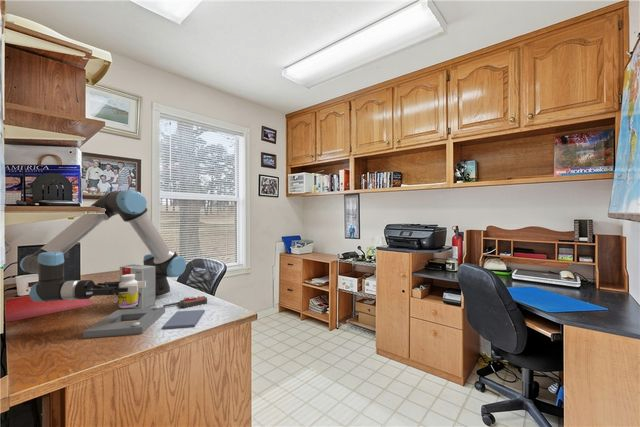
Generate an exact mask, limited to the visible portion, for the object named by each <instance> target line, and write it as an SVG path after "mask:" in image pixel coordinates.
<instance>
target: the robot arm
mask: <svg viewBox="0 0 640 427" xmlns="http://www.w3.org/2000/svg"><path fill="white" fill-rule="evenodd" d="M147 204H148V203H147V198H146V197H145V196H144V194H143V193H141V192H139V191H137V190H132V189H123V190H113V191H110V192H108V193H106V194H104V195H103V196H101V197H100V198H98V199H97V200H96V201H95V202H93V203H92V204H91V205H89V207H101V208H105V209H106V211H105V214H88V213H87V214H85V213H83V214H84V215H83V214H82V215H81V216H80V217H78V218H77V219H75V221H73V222H72V223H71V224H69V225H68V226H67V227H66V228H65V229H63V230H62V231H61V232H60V233H58V234H57V235H56V236H55V237H53V238H52V239H51V240H50V241H48V242H47V243H46V244H45V245H43V246H42V247H40V248H39V249H38V250H37V251H35V252H34V253H33V254H29V255H26V256H25V257H23V258H22V259H21V260H20V262H19V266H20V269H21V270H22V271H23V272H25V273H29V274H34V275H38V276H37V277H38V280H37V282H35V283H34V284H33V285H32V286H31V287H30V290H29V293H28V294H29V298H30V300H31V301H33V302H45V303H46V302H47V303H48V302H56V301H59V302H60V301H68V300H69V301H70V302H73V301H75V300H88V299H91V298H92V297H98V296H99V297H101V296H116V297H117V296H118V297H119V293H133V292H138V288H145V287H146V281H137V282H138V285H131V286H120V287H119V283H120V282H122V281H120V280H119V281H105V282H98V283H95V282H94V281H93V280H92V279H81V280H80V279H79V280H65V257H64V256H65V254H66V253H67V252H68V251H69V250H70V249H72V248H73V247H74V246H76V245H77V244H78V243H79V242H80V241H81V240H82V239H83V238H85V237H86V236H87V235H88V234H90V232H92V231H93V230H94V229H95V228H96V227H97V226H99V225H100V224H101V223H103V222H104V221H108V220H109V219H111V218H112V217H113V216H116V215H119V217H120V218H121V220H122V221H124V222H125V223H129V224H130V226H131V227H132V229H133V230H134V232H136V233H135V234H137V235H138V237H139V238H140V239H141V241H142V243H143V244H144V245H145V247H146V248H147V250H148V251H149V252H150V253H149V254H148V253H147V254H145V255H144V256H143V261H142V262H143V265H147V266H155V296H160V295H164V294H168V293H169V292H170V291H171V285H170V284H169V280H168V278H178V277H180V276H182V275H183V273H184V272H185V270H186V266H187V261H186V259H185V257H183V256H182V255H181V256H180V255H178V253H177V252H176V250H175V249H173V248H170V247H169V246H168V244H167V242H166V240H165V239H164V238H163V237H162V235H161V234H160V232H159V231H158V229H157V227H156V226H155V225H154V223H153V221H152V220H151V218H150V217H149V216H148V214H147V213H148V211H149V210H148V208H147ZM167 277H168V278H167Z"/></svg>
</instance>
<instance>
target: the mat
mask: <svg viewBox="0 0 640 427" xmlns="http://www.w3.org/2000/svg"><path fill="white" fill-rule="evenodd" d="M205 312H206V310H205V309H193V310H177V311H176V312H175V313H174V314H173V315H172V316H171V317H170V318H169V319H168V320H167V321H166V322H165V323H164V324H163V325H162V326H161V328H162V330H169V329H180V328H181V329H182V328H195V327H196V326H197V325H198V323H199V321H200V320H201V318H202V317H203V315H204V313H205Z"/></svg>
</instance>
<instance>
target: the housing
mask: <svg viewBox="0 0 640 427" xmlns="http://www.w3.org/2000/svg"><path fill="white" fill-rule="evenodd" d="M165 313H166V307H163V306H162V307H161V306H160V305H154V306H152V307H149V308H141V309H135V308H124V309H117V310H115V311H113V312H112V313H110V314H108V315H107V316H105V317H104V318H102V319H101V320H99V321H97V322H96V323H94V324H93V325H91V326H89V327H88V328H86V329H85V330H83V331H82V339H88V338H89V339H90V338H102V337H114V336H115V337H118V336H128V335H142V334H144V333H146V332H147V331H148V329H149V328H150V327H151V326H152V325H153V324H155V322H157V321H158V320H159V318H161V317H162V316H163V315H164V314H165ZM129 320H130V321H129ZM131 320H132V321H131ZM133 320H136V321H133ZM124 321H125V322H124Z"/></svg>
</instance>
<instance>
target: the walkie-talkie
mask: <svg viewBox="0 0 640 427" xmlns="http://www.w3.org/2000/svg"><path fill="white" fill-rule="evenodd" d="M202 304H203V305H207V304H208V297H207V296H205V295H203V296H200V295H198V296H197V297H196V296H193V295H191V296H186V297H184V298H183V299H180V300H179V301H177V302H173V303H172V302H171V303H167V304H163V305H162V307H165V308H166V307H172V306H176V305H178V306H180V308H183V309H188V307H189V308H193V306H194V307H198V305H199V306H202Z"/></svg>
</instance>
